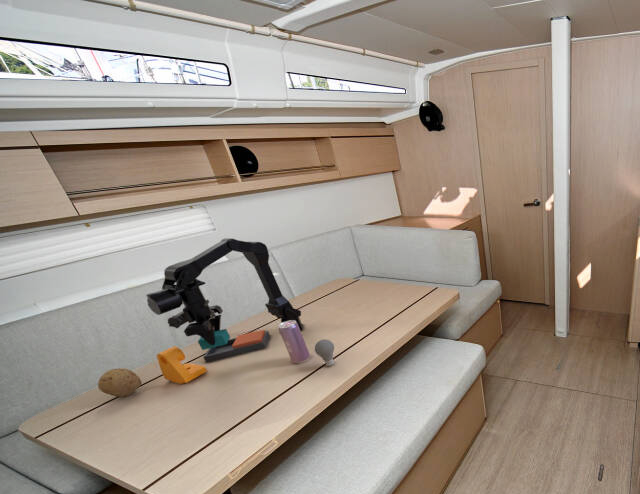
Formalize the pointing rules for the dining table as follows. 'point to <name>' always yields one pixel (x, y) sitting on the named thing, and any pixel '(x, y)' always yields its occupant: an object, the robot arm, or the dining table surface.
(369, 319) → the dining table surface
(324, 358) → the light bulb
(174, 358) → the bracket
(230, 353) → the pad tray
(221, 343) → the teal pad
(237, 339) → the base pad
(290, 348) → the beverage can
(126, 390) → the potato
